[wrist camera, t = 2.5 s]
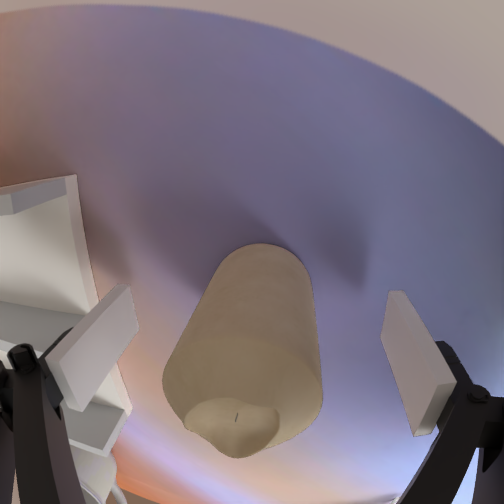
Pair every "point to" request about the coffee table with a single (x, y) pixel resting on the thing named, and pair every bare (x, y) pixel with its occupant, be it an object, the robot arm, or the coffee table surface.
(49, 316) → the slot rack
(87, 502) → the teacup
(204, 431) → the candle
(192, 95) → the coffee table surface
